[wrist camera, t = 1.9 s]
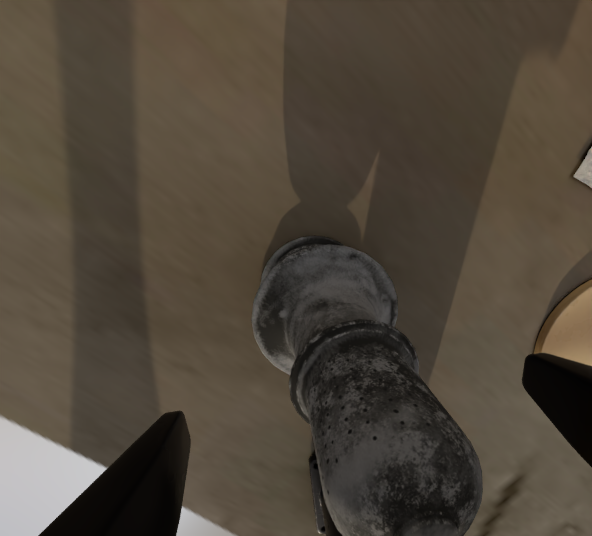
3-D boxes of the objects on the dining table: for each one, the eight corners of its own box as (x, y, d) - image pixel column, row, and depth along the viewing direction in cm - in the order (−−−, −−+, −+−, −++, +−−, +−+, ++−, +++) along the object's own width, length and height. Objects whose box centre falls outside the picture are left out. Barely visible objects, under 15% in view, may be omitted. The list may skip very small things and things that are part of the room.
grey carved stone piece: (390, 284, 15) (754, 584, 4) (310, 357, 16) (422, 786, 5) (314, 203, 14) (559, 315, 2) (229, 288, 15) (103, 684, 3)
